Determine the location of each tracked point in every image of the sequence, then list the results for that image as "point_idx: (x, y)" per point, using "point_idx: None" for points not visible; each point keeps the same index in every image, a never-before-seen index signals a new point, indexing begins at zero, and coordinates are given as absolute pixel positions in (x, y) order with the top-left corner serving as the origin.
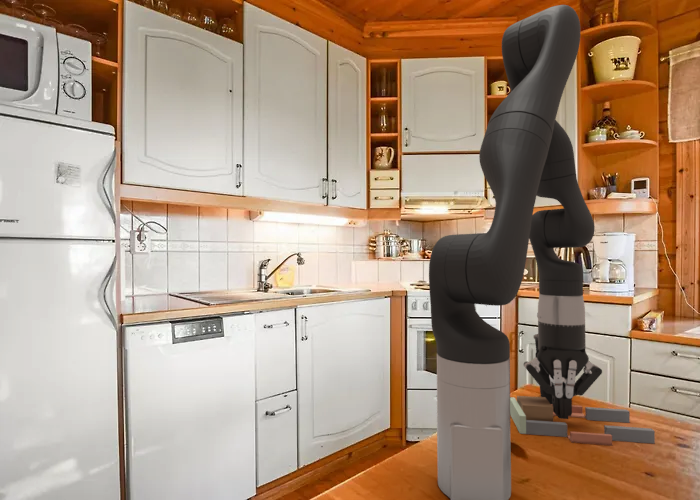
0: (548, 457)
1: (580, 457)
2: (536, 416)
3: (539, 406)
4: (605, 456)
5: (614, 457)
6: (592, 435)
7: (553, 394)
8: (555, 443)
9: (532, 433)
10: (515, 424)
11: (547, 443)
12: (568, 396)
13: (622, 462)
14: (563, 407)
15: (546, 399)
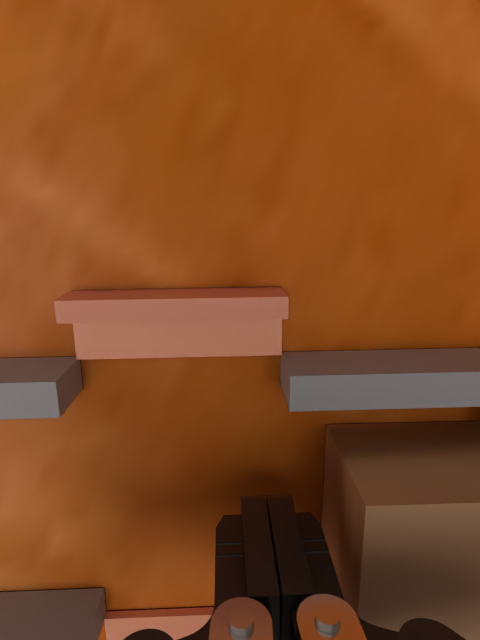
0: (475, 61)
1: (296, 98)
2: (445, 458)
3: (458, 502)
4: (153, 140)
5: (108, 137)
6: (167, 299)
7: (362, 627)
8: (372, 257)
9: (461, 348)
10: None
11: (415, 249)
12: (247, 611)
13: (84, 78)
14: (276, 540)
15: None
